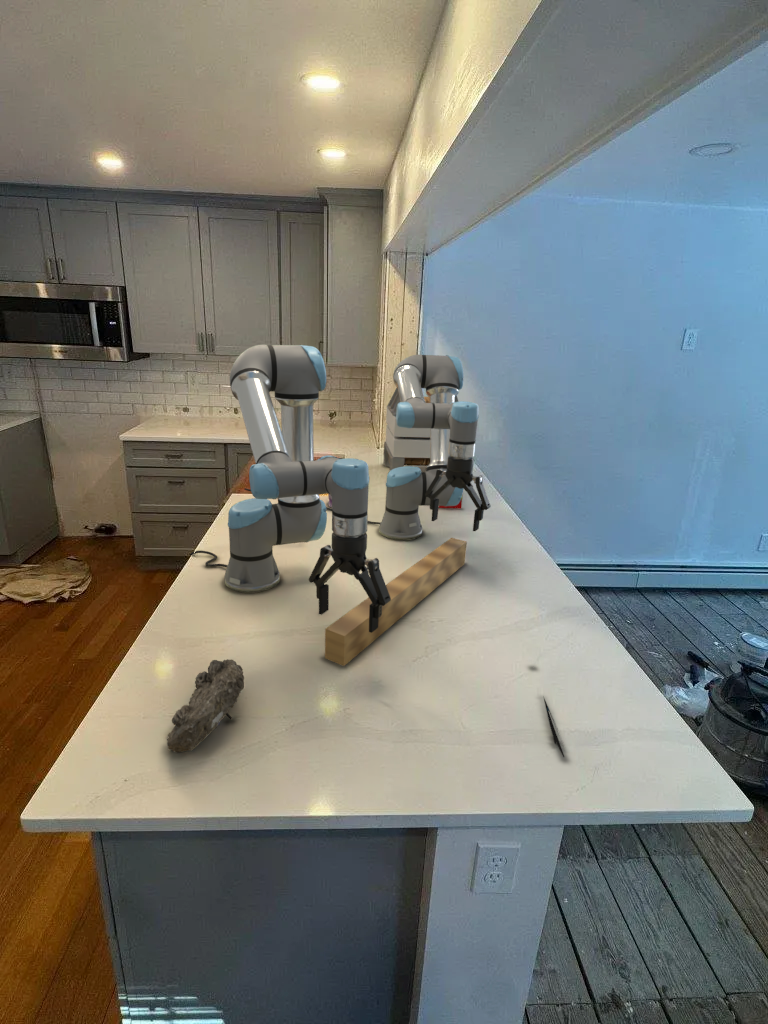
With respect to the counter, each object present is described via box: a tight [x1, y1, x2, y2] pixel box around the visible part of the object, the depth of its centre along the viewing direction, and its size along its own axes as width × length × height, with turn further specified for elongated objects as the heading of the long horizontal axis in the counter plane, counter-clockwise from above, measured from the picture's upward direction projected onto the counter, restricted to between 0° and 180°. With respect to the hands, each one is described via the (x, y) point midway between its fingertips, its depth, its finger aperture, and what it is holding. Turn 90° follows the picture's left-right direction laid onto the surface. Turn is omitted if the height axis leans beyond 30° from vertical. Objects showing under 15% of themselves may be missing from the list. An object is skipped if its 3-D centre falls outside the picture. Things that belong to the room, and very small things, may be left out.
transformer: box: [383, 387, 459, 471], centre depth 268 cm, size 34×33×41 cm
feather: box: [533, 666, 565, 758], centre depth 114 cm, size 2×28×2 cm
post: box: [324, 537, 468, 667], centre depth 152 cm, size 66×5×8 cm, turn 149°
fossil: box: [166, 658, 245, 754], centre depth 106 cm, size 22×10×15 cm
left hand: (347, 620), depth 127 cm, fingers open, 13 cm apart
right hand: (454, 525), depth 171 cm, fingers open, 13 cm apart
